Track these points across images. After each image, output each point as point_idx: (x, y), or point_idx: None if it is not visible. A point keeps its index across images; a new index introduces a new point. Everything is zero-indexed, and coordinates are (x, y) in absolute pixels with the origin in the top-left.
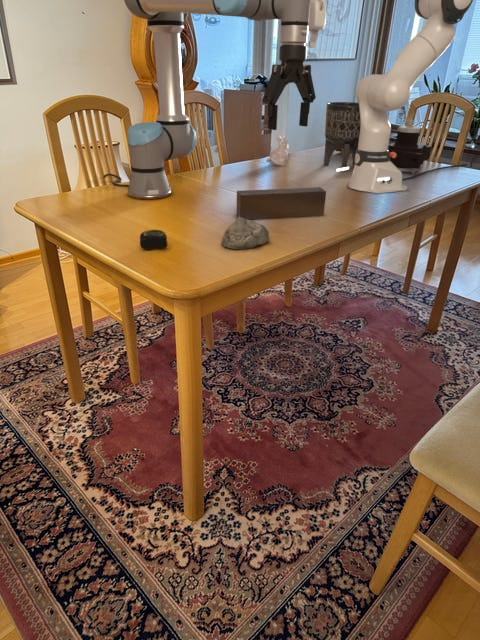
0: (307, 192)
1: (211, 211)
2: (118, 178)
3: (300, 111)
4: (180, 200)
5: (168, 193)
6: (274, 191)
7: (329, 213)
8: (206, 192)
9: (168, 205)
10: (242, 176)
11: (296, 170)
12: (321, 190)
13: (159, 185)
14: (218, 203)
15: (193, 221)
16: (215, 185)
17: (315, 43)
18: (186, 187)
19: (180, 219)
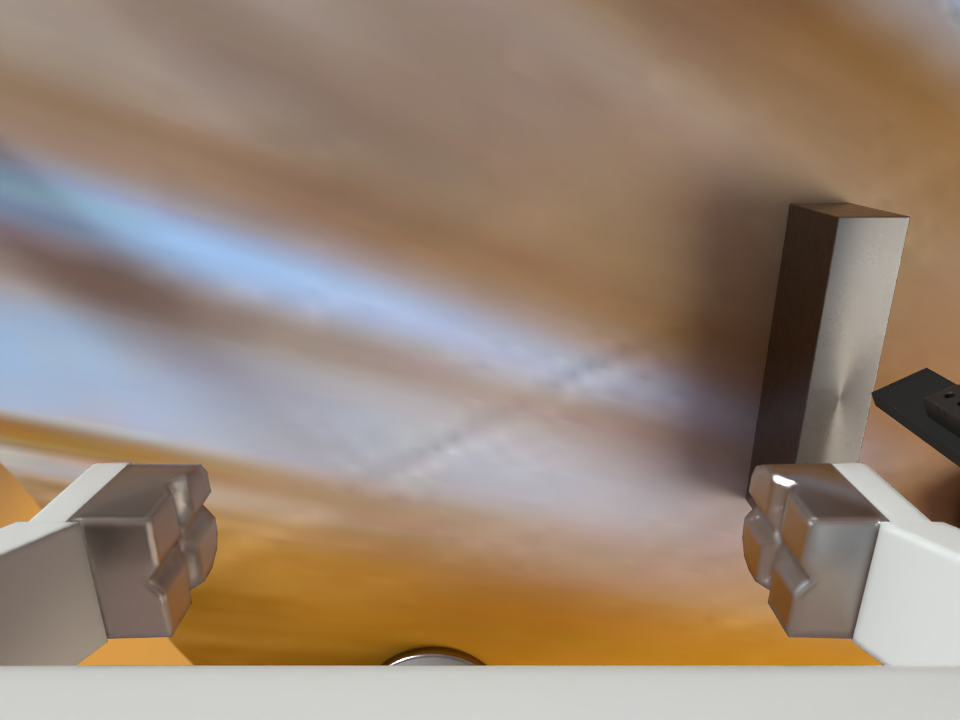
0: (891, 302)
1: (675, 560)
2: None
3: (929, 441)
4: (526, 627)
5: (473, 663)
6: (837, 427)
7: (830, 164)
8: (435, 539)
9: (576, 663)
10: (166, 351)
11: (2, 8)
12: (891, 233)
13: None
14: (589, 525)
15: (757, 619)
16: (330, 492)
17: (899, 496)
18: (352, 592)
19: (727, 647)
